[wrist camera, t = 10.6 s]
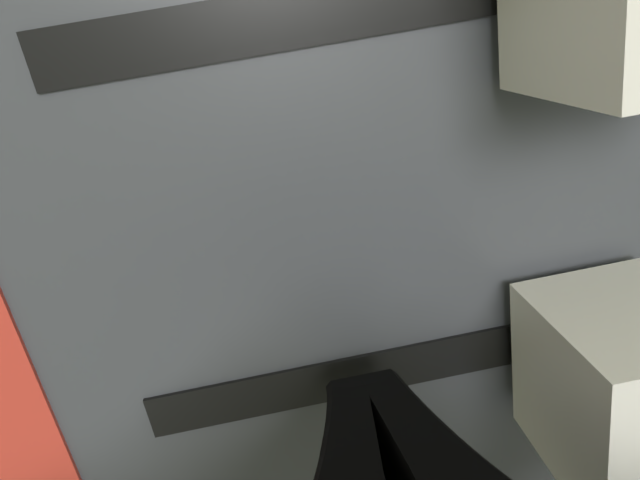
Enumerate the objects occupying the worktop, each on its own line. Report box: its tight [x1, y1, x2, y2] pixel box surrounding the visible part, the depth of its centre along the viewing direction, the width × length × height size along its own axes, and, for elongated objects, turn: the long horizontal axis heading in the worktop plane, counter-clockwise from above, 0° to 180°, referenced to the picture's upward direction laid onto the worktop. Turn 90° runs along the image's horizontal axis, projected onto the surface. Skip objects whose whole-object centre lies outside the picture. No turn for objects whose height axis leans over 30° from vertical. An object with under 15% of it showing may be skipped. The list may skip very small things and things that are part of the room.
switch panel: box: [0, 0, 640, 480], centre depth 13 cm, size 22×19×2 cm
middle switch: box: [510, 258, 640, 480], centre depth 10 cm, size 4×3×4 cm
